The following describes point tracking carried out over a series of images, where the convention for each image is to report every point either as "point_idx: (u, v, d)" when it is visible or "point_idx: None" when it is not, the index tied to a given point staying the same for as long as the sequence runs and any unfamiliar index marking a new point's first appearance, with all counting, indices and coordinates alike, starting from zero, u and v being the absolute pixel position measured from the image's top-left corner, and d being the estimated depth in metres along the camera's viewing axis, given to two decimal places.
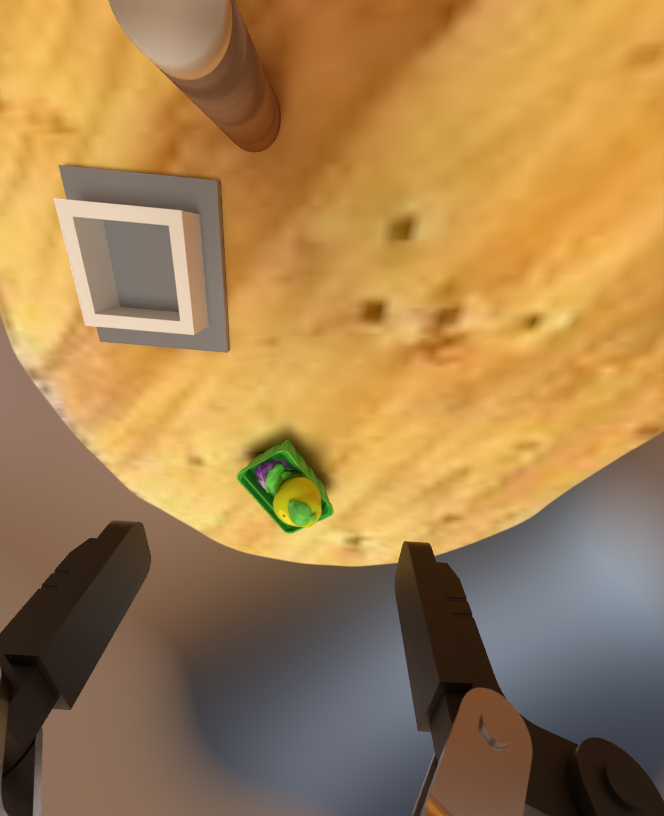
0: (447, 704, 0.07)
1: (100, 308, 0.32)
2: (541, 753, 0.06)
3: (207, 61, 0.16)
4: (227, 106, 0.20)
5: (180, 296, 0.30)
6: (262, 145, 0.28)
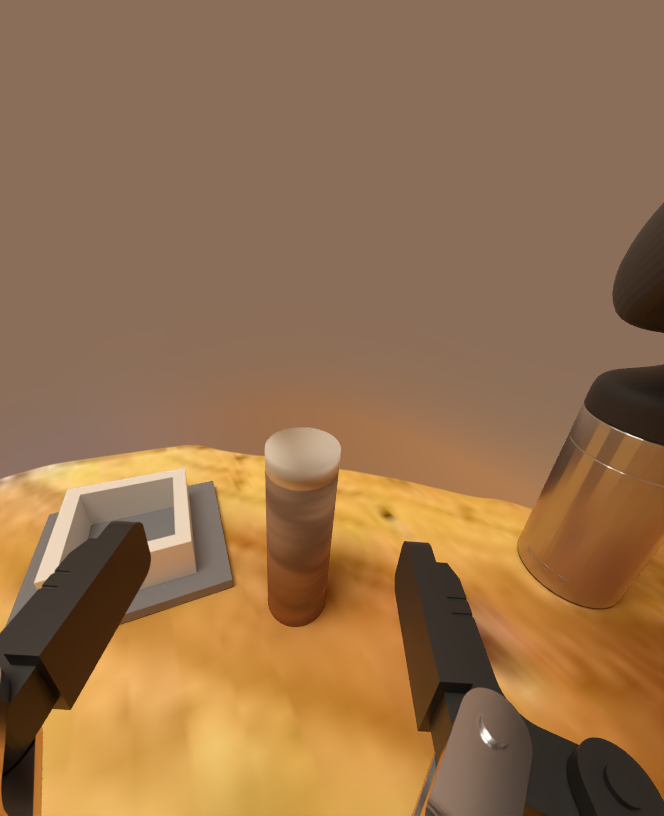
0: (447, 704, 0.07)
1: (87, 501, 0.32)
2: (541, 753, 0.06)
3: (279, 475, 0.20)
4: (273, 527, 0.23)
5: None
6: (276, 610, 0.27)
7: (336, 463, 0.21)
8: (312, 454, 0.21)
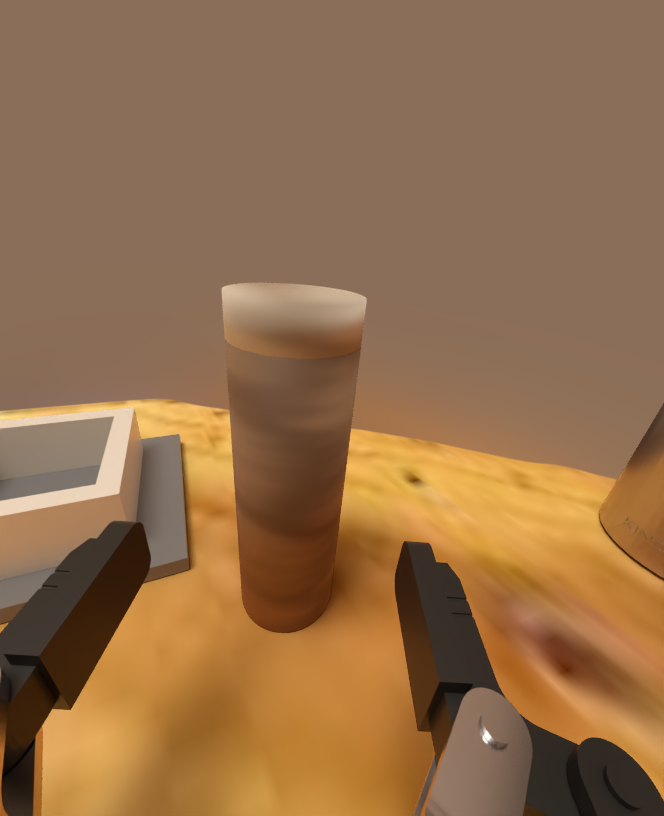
0: (447, 704, 0.07)
1: None
2: (541, 753, 0.06)
3: (246, 325, 0.10)
4: (241, 449, 0.12)
5: None
6: (252, 606, 0.16)
7: (359, 314, 0.11)
8: (313, 297, 0.11)
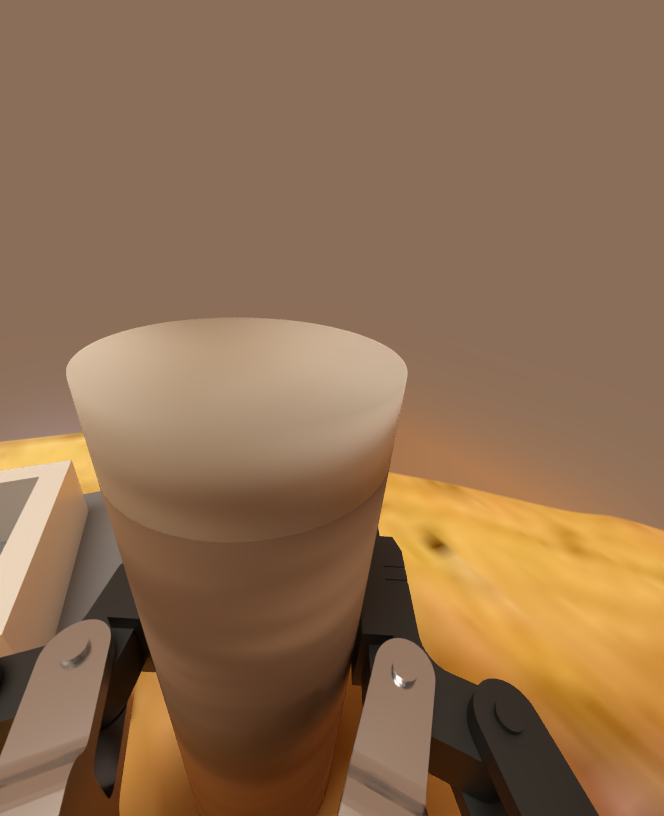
0: (369, 653, 0.07)
1: None
2: (447, 694, 0.07)
3: (110, 462, 0.04)
4: (152, 654, 0.06)
5: None
6: None
7: (396, 411, 0.05)
8: (288, 371, 0.05)
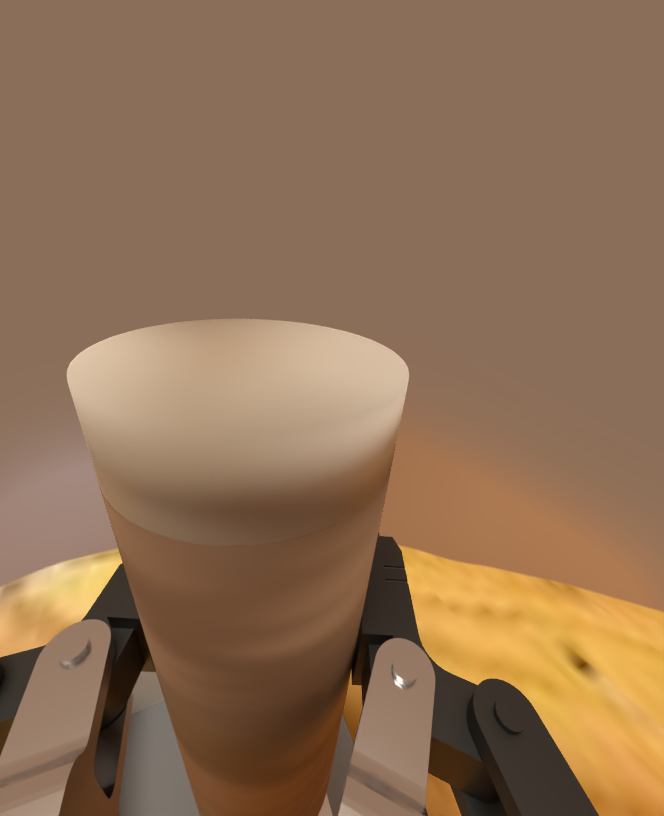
0: (369, 653, 0.07)
1: None
2: (447, 694, 0.07)
3: (110, 465, 0.04)
4: (153, 657, 0.06)
5: None
6: None
7: (397, 413, 0.05)
8: (289, 374, 0.05)
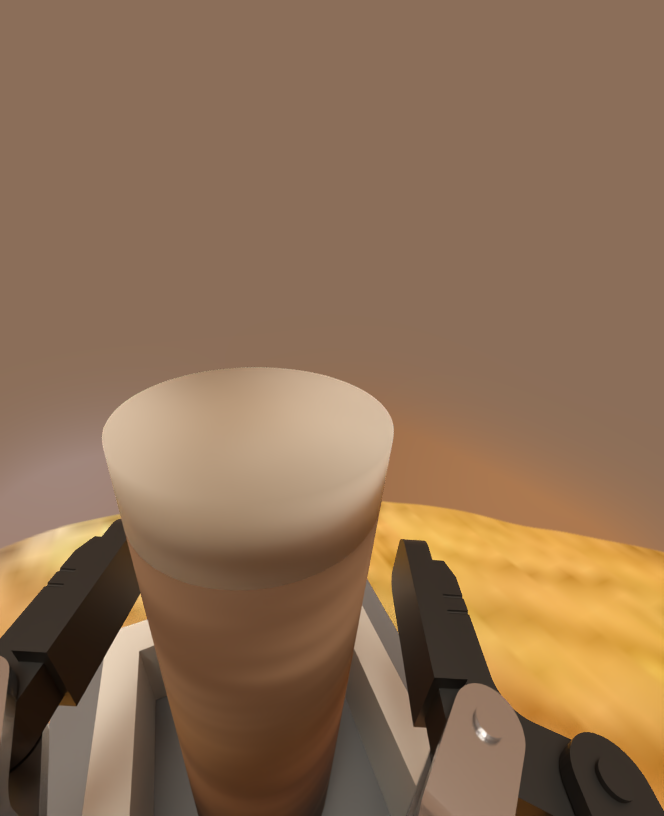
0: (441, 699, 0.07)
1: (152, 659, 0.14)
2: (534, 748, 0.06)
3: (140, 523, 0.05)
4: (165, 680, 0.07)
5: None
6: None
7: (383, 470, 0.05)
8: (290, 435, 0.05)
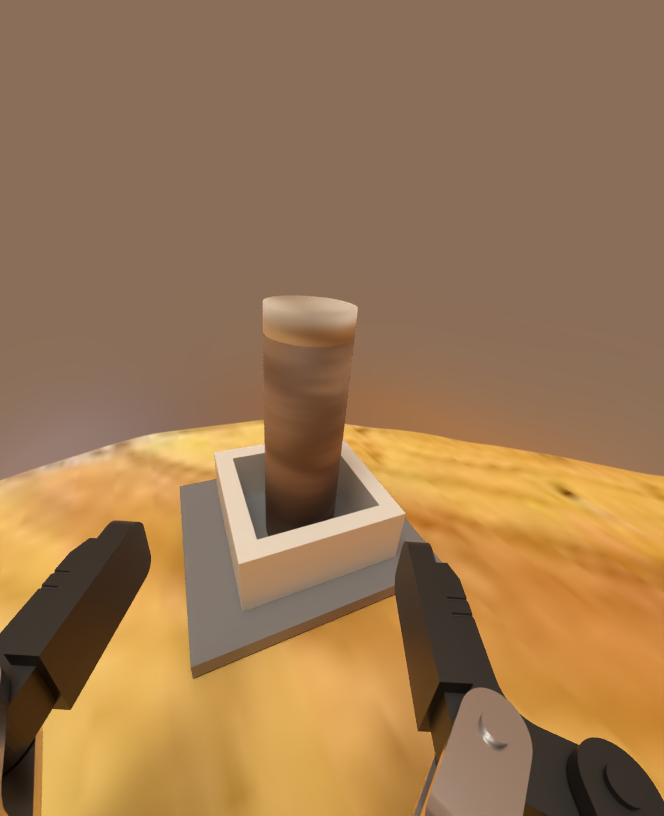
0: (447, 704, 0.07)
1: (238, 467, 0.25)
2: (541, 753, 0.06)
3: (281, 326, 0.16)
4: (273, 410, 0.18)
5: (297, 532, 0.19)
6: (275, 531, 0.22)
7: (353, 318, 0.17)
8: (322, 307, 0.17)
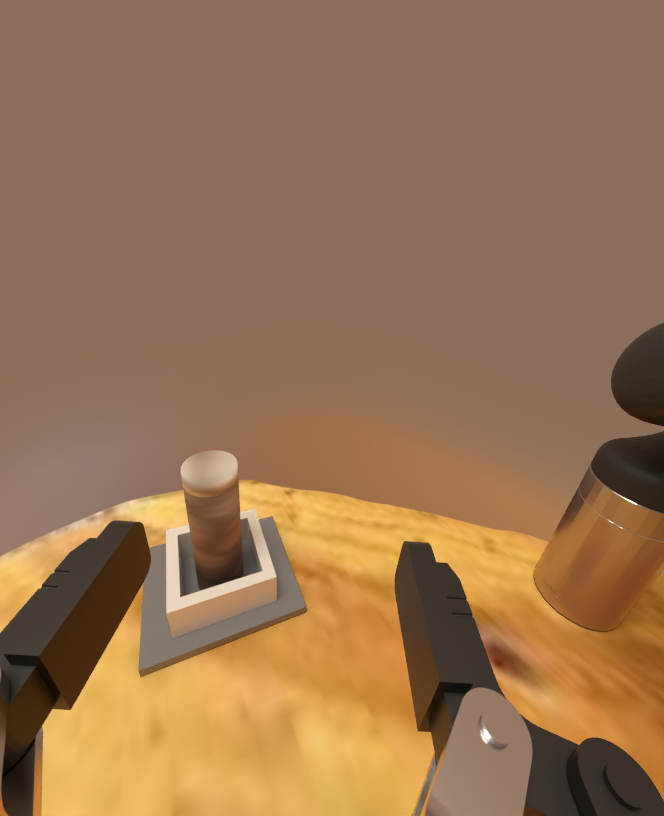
0: (447, 704, 0.07)
1: (181, 539, 0.39)
2: (541, 753, 0.06)
3: (188, 486, 0.29)
4: (190, 522, 0.32)
5: (205, 591, 0.32)
6: (200, 585, 0.36)
7: (230, 478, 0.30)
8: (214, 471, 0.30)
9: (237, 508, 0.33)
